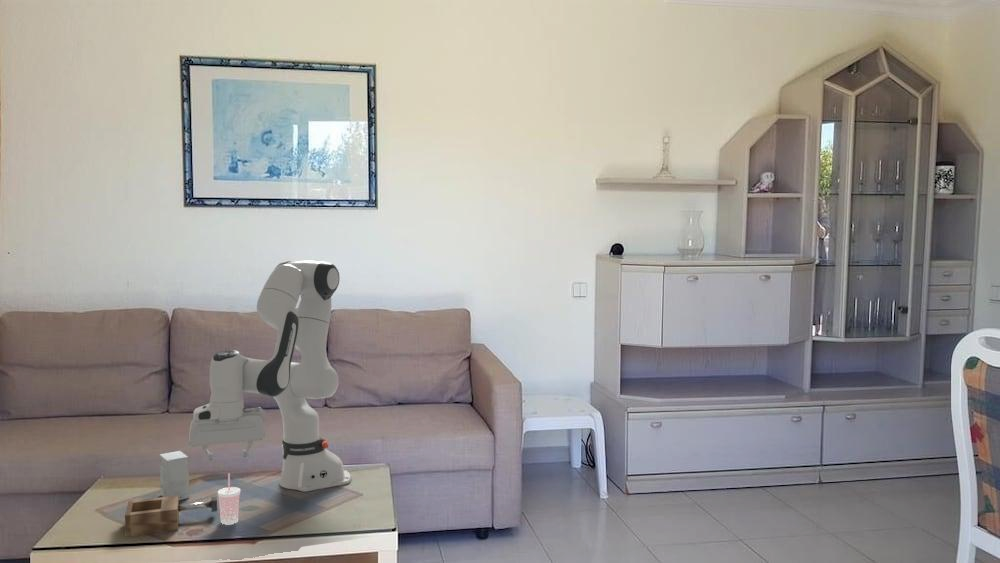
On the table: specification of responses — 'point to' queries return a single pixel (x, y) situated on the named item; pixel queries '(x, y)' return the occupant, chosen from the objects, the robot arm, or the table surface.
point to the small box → (174, 475)
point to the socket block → (152, 516)
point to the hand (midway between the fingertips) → (228, 458)
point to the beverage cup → (229, 504)
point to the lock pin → (200, 505)
